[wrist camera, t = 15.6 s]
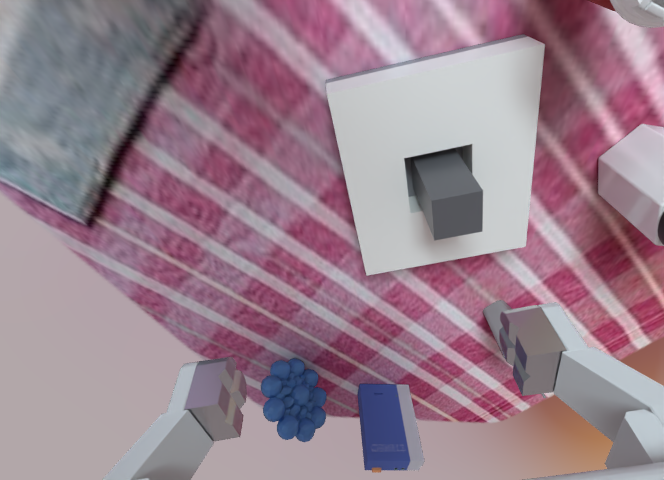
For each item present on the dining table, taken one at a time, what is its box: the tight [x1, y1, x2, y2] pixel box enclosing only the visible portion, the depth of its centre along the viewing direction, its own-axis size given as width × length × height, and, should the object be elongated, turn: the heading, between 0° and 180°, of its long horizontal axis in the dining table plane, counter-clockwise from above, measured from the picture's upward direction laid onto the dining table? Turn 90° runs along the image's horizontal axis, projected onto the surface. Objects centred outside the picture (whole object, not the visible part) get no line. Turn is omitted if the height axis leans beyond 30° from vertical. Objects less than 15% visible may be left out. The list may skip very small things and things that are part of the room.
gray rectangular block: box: [410, 148, 483, 241], centre depth 36 cm, size 4×4×9 cm
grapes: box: [261, 358, 326, 442], centre depth 55 cm, size 12×7×12 cm, turn 42°
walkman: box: [358, 384, 424, 472], centre depth 59 cm, size 8×3×12 cm, turn 85°
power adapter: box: [483, 300, 546, 398], centre depth 50 cm, size 3×5×12 cm, turn 44°
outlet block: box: [326, 34, 545, 276], centre depth 39 cm, size 20×17×4 cm
